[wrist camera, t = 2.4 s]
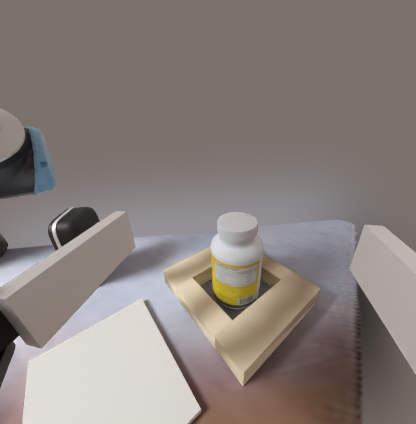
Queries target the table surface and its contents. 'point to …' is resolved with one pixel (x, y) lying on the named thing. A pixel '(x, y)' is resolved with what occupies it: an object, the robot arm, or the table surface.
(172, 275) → the holder
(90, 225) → the battery charger
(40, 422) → the pad
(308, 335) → the table surface
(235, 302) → the pill bottle
